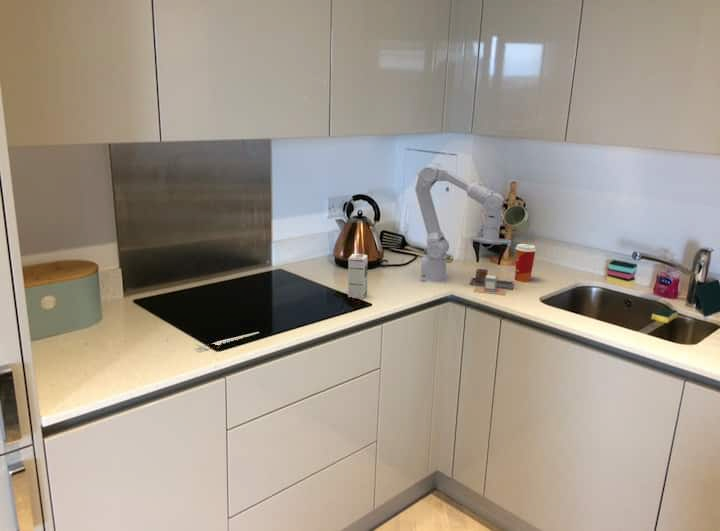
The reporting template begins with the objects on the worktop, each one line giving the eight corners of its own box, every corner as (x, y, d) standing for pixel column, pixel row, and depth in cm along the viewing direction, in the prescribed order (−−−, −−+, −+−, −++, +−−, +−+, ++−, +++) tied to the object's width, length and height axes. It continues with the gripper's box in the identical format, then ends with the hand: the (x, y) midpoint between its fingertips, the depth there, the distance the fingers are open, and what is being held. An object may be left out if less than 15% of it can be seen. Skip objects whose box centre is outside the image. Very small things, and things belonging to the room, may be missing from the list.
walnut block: (474, 284, 223) (476, 271, 222) (475, 281, 227) (477, 268, 225) (485, 285, 222) (486, 272, 221) (486, 282, 226) (487, 269, 224)
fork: (262, 336, 173) (262, 330, 172) (200, 353, 159) (200, 347, 159) (256, 333, 175) (256, 327, 174) (194, 349, 161) (194, 343, 161)
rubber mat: (473, 292, 214) (473, 291, 214) (475, 287, 221) (475, 285, 221) (504, 296, 211) (505, 294, 211) (505, 290, 218) (505, 289, 218)
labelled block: (483, 291, 215) (485, 277, 213) (484, 287, 218) (486, 274, 217) (495, 292, 213) (496, 279, 212) (496, 289, 217) (497, 275, 216)
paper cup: (516, 276, 236) (519, 242, 232) (535, 280, 231) (539, 245, 228) (509, 281, 229) (512, 246, 225) (528, 285, 225) (532, 249, 221)
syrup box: (364, 299, 204) (365, 258, 200) (347, 297, 205) (348, 257, 201) (367, 294, 210) (368, 254, 206) (350, 292, 211) (351, 253, 207)
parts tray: (469, 286, 222) (469, 282, 222) (471, 280, 229) (471, 277, 229) (512, 290, 218) (512, 287, 218) (513, 284, 225) (513, 281, 225)
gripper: (470, 227, 213) (467, 263, 217) (511, 231, 209) (507, 268, 213) (472, 223, 220) (469, 258, 224) (512, 227, 216) (508, 263, 220)
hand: (488, 263), depth 219 cm, fingers open, 7 cm apart
